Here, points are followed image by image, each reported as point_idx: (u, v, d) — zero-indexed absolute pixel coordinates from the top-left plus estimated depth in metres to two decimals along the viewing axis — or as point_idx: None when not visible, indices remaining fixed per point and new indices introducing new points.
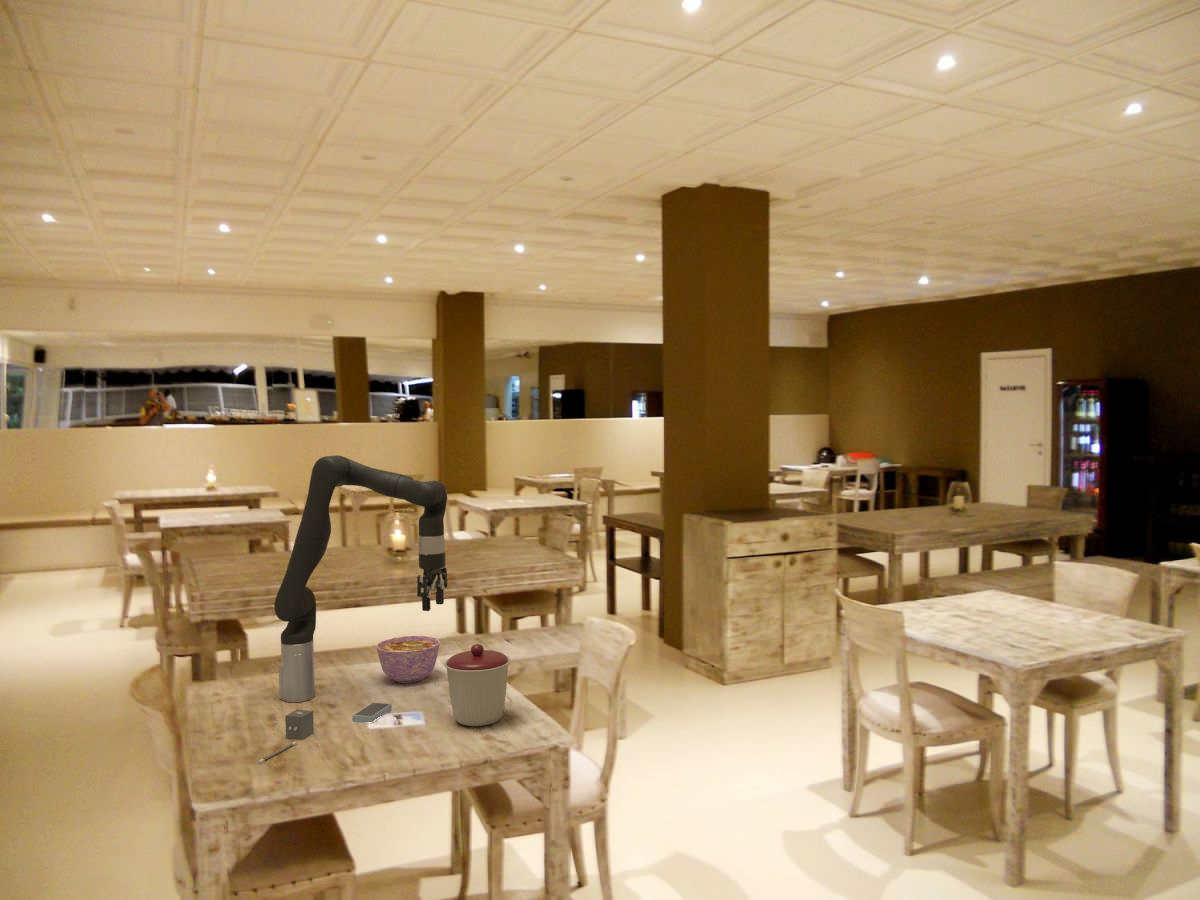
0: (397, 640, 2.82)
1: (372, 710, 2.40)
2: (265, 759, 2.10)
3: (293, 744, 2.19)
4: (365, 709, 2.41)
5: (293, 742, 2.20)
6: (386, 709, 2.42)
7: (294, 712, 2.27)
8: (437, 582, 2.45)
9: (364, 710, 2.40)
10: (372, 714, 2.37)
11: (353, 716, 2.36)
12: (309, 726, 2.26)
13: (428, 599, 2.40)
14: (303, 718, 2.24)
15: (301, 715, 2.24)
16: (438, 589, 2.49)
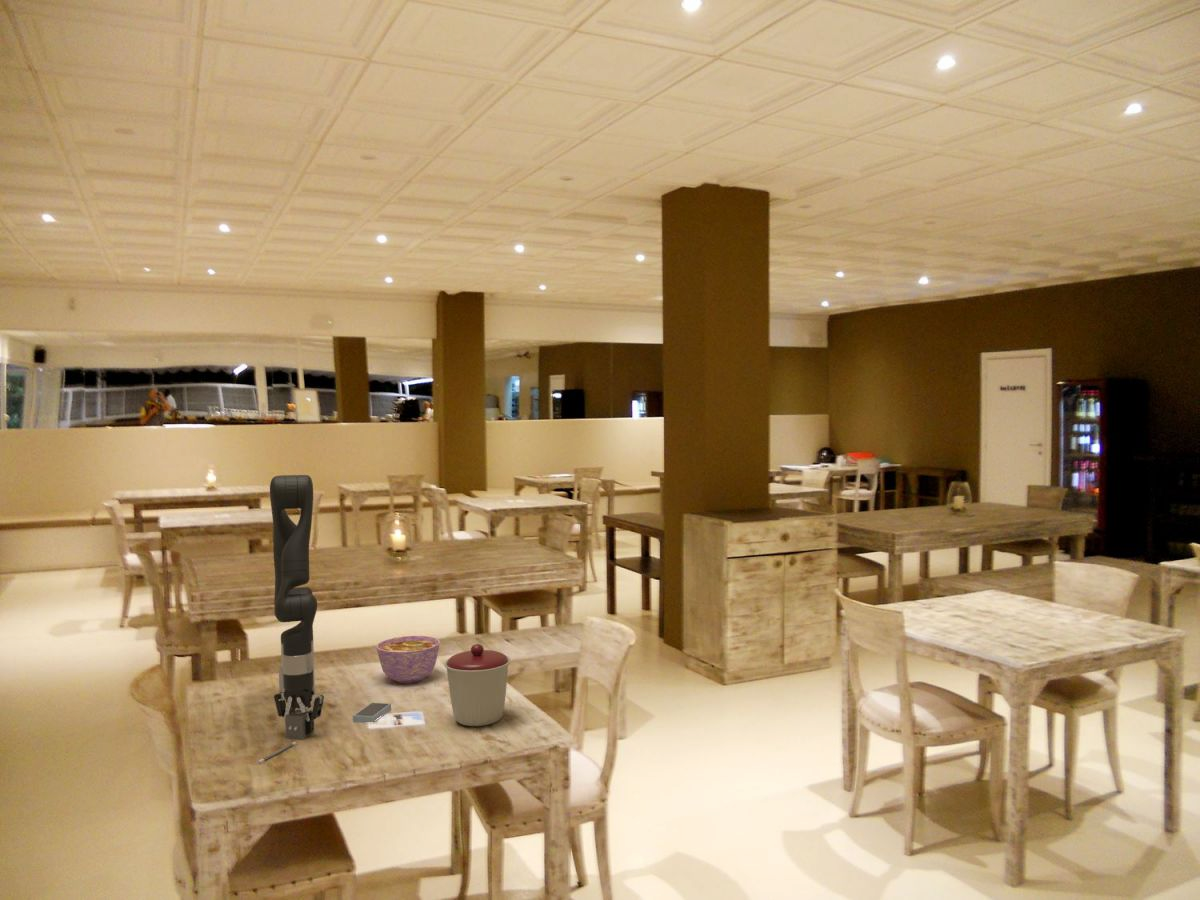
0: (397, 640, 2.82)
1: (372, 710, 2.40)
2: (265, 759, 2.10)
3: (293, 744, 2.19)
4: (365, 709, 2.41)
5: (293, 742, 2.20)
6: (386, 709, 2.43)
7: (294, 712, 2.27)
8: None
9: (364, 710, 2.40)
10: (373, 714, 2.37)
11: (354, 716, 2.36)
12: None
13: None
14: (303, 717, 2.24)
15: (301, 715, 2.24)
16: None
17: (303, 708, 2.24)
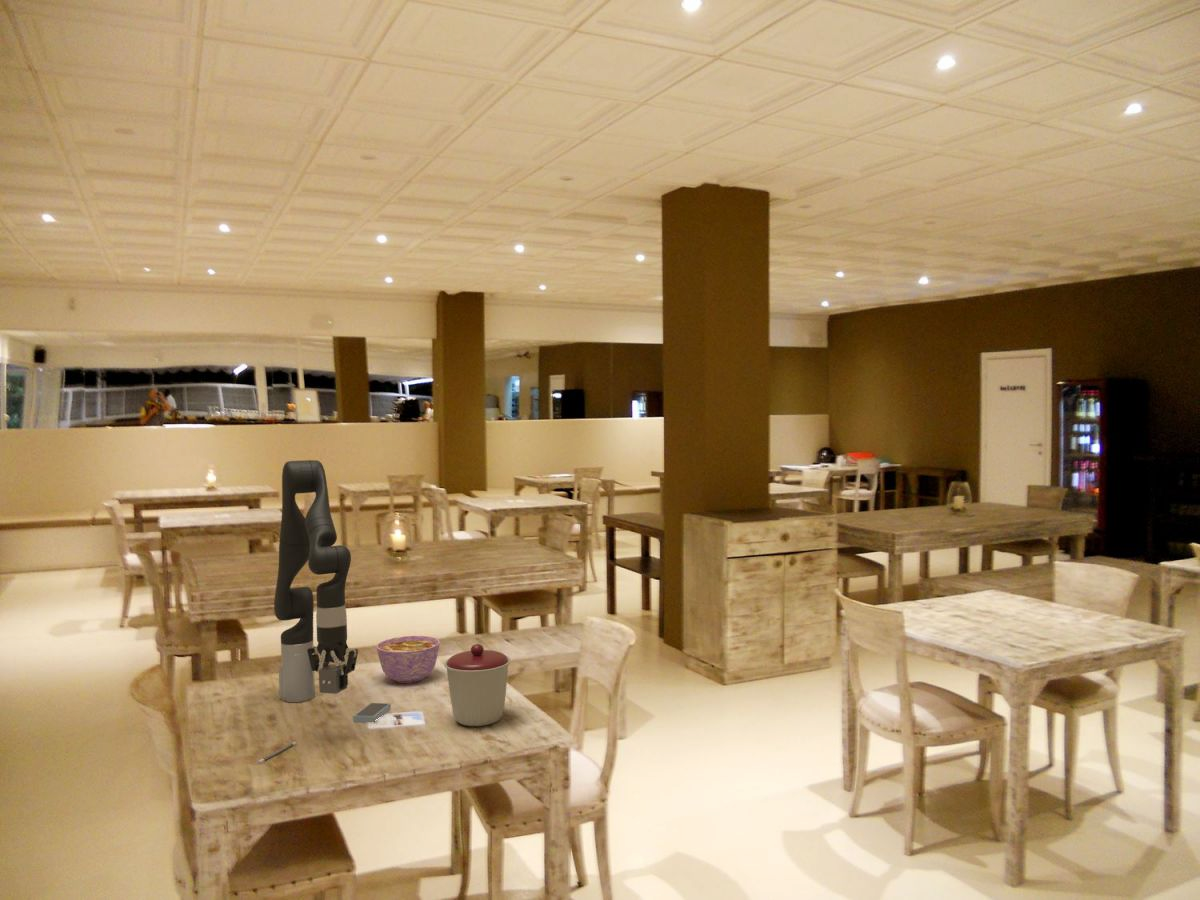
0: (397, 640, 2.82)
1: (372, 710, 2.40)
2: (265, 759, 2.10)
3: (293, 744, 2.19)
4: (365, 709, 2.41)
5: (293, 742, 2.20)
6: (385, 708, 2.43)
7: (327, 666, 2.23)
8: None
9: (364, 710, 2.40)
10: (373, 714, 2.37)
11: (354, 716, 2.36)
12: None
13: None
14: (337, 671, 2.20)
15: (335, 669, 2.21)
16: None
17: (337, 662, 2.20)
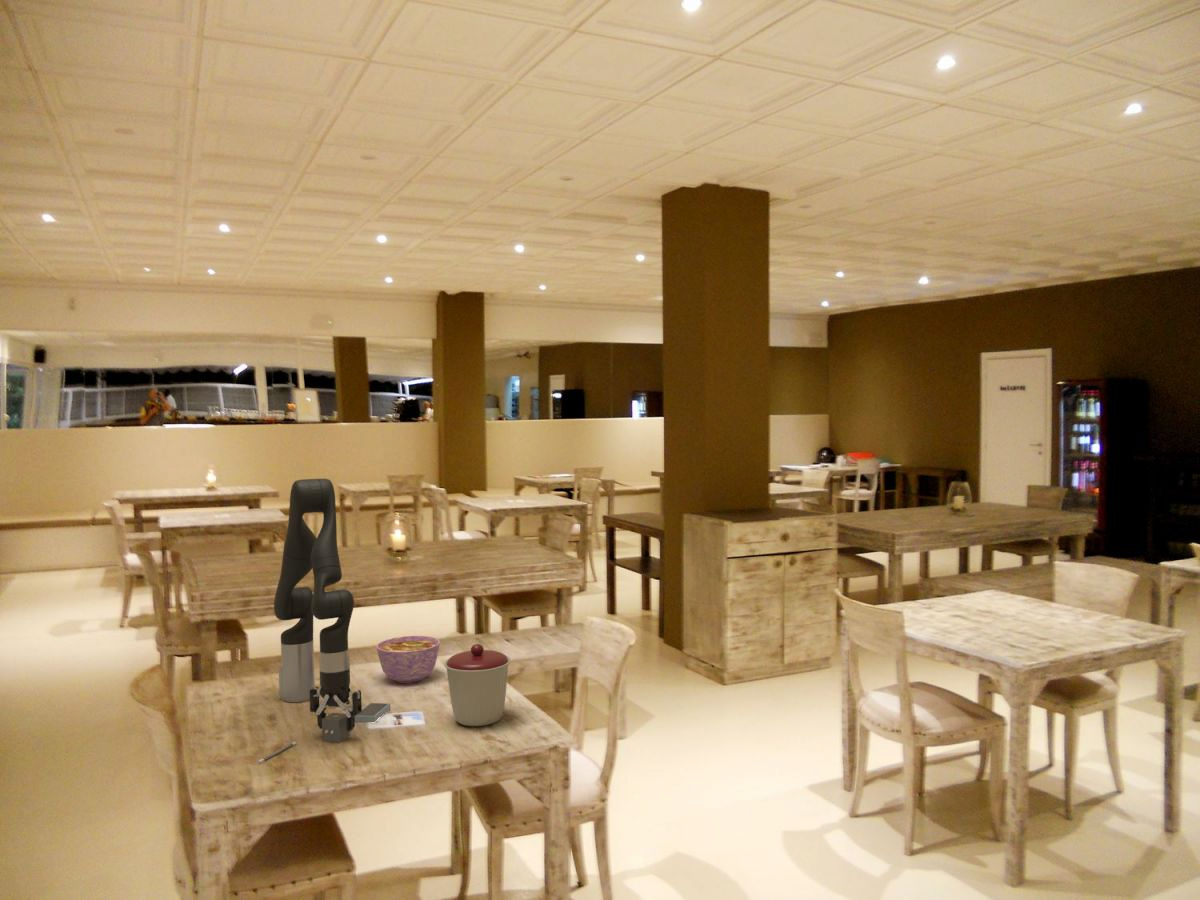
0: (397, 640, 2.82)
1: (372, 710, 2.40)
2: (265, 759, 2.10)
3: (293, 744, 2.19)
4: (365, 709, 2.41)
5: (293, 742, 2.20)
6: (385, 708, 2.43)
7: (330, 715, 2.24)
8: None
9: (364, 710, 2.40)
10: (374, 714, 2.37)
11: (355, 716, 2.36)
12: (345, 730, 2.23)
13: None
14: (340, 721, 2.21)
15: (338, 719, 2.21)
16: (322, 711, 2.24)
17: (342, 705, 2.21)
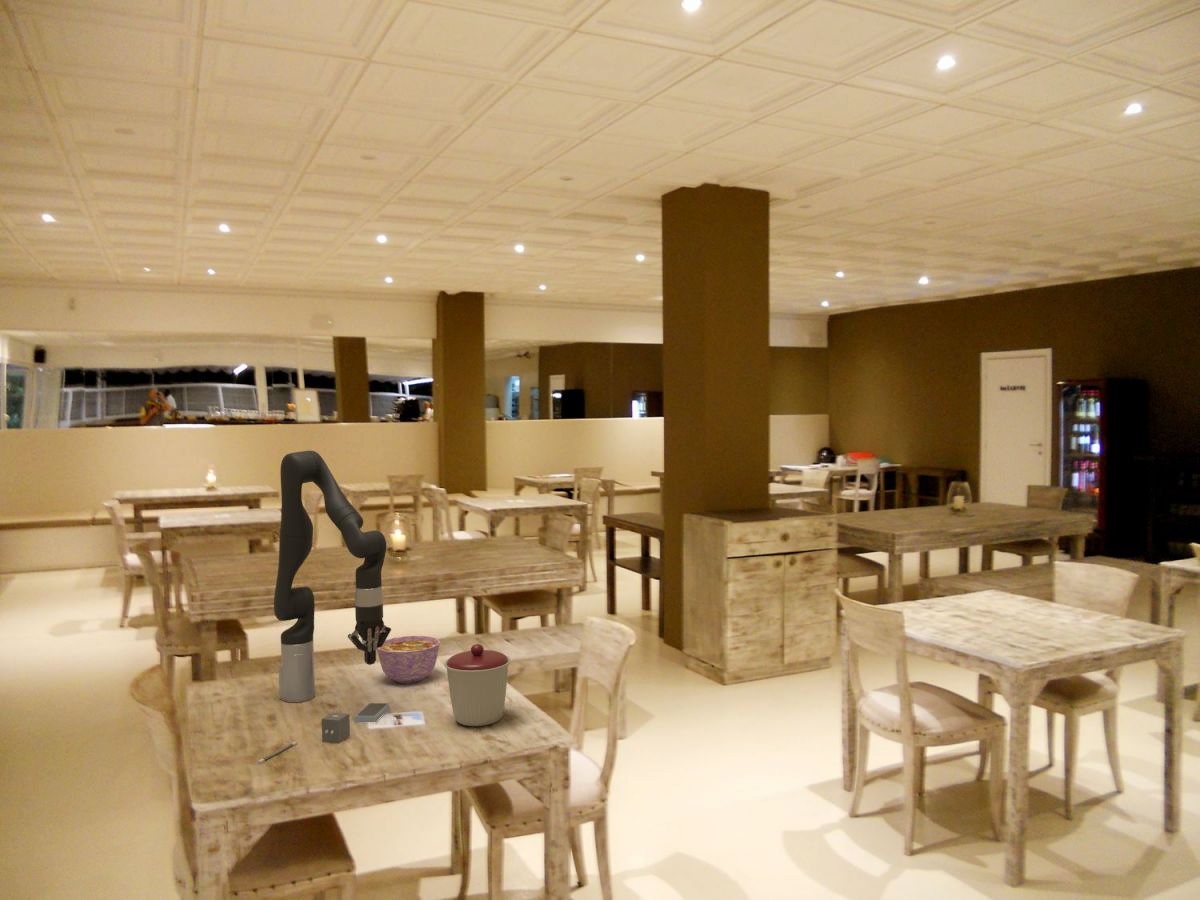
0: (397, 640, 2.82)
1: (372, 710, 2.40)
2: (265, 759, 2.10)
3: (293, 744, 2.19)
4: (365, 709, 2.41)
5: (293, 742, 2.20)
6: (385, 708, 2.43)
7: (330, 715, 2.24)
8: None
9: (364, 710, 2.40)
10: (374, 714, 2.37)
11: (355, 717, 2.36)
12: (345, 730, 2.23)
13: None
14: (340, 721, 2.21)
15: (338, 718, 2.21)
16: None
17: (377, 637, 2.40)
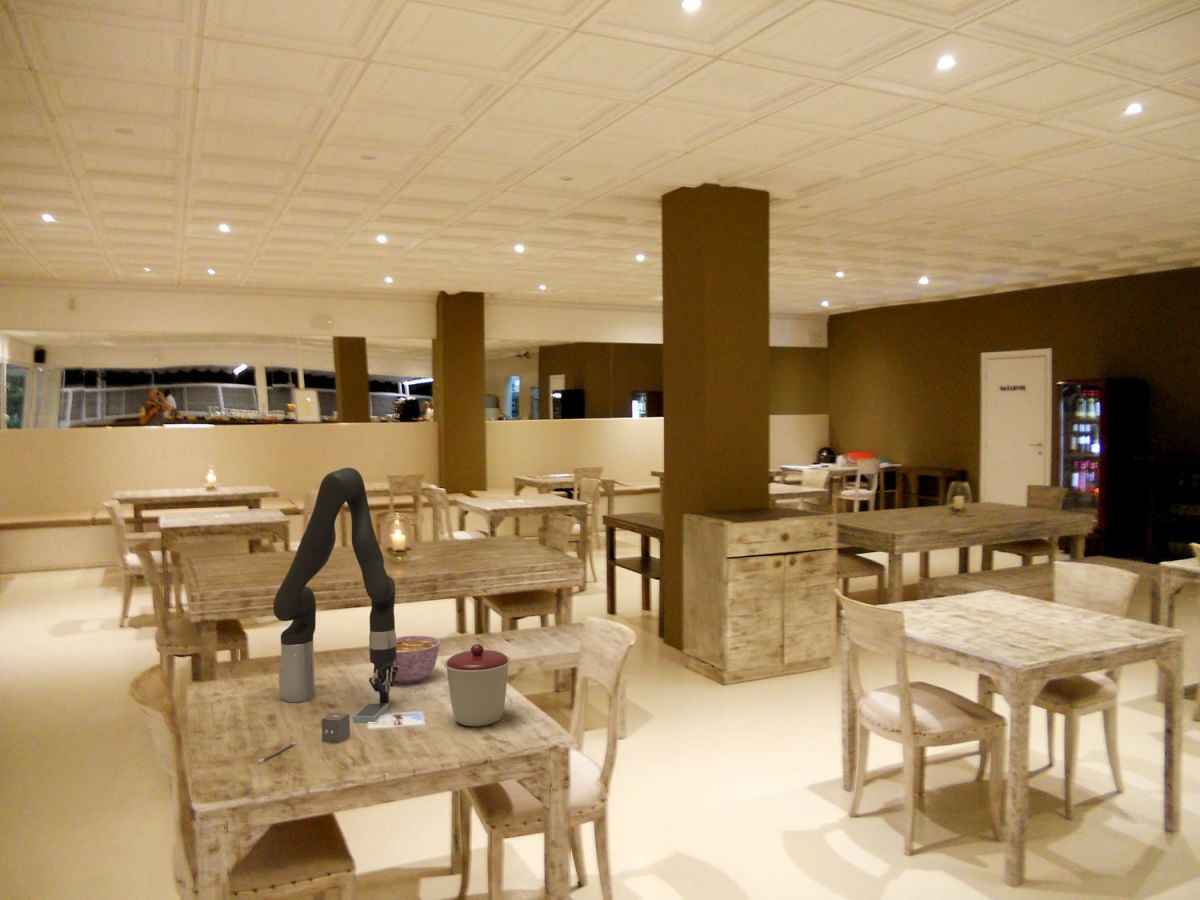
0: (397, 640, 2.82)
1: (371, 710, 2.40)
2: (265, 759, 2.10)
3: (293, 744, 2.19)
4: (364, 710, 2.40)
5: (293, 742, 2.20)
6: (384, 709, 2.43)
7: (330, 715, 2.24)
8: None
9: (363, 711, 2.39)
10: (373, 714, 2.37)
11: (354, 717, 2.35)
12: (345, 730, 2.23)
13: None
14: (340, 721, 2.21)
15: (338, 719, 2.21)
16: None
17: (391, 677, 2.48)
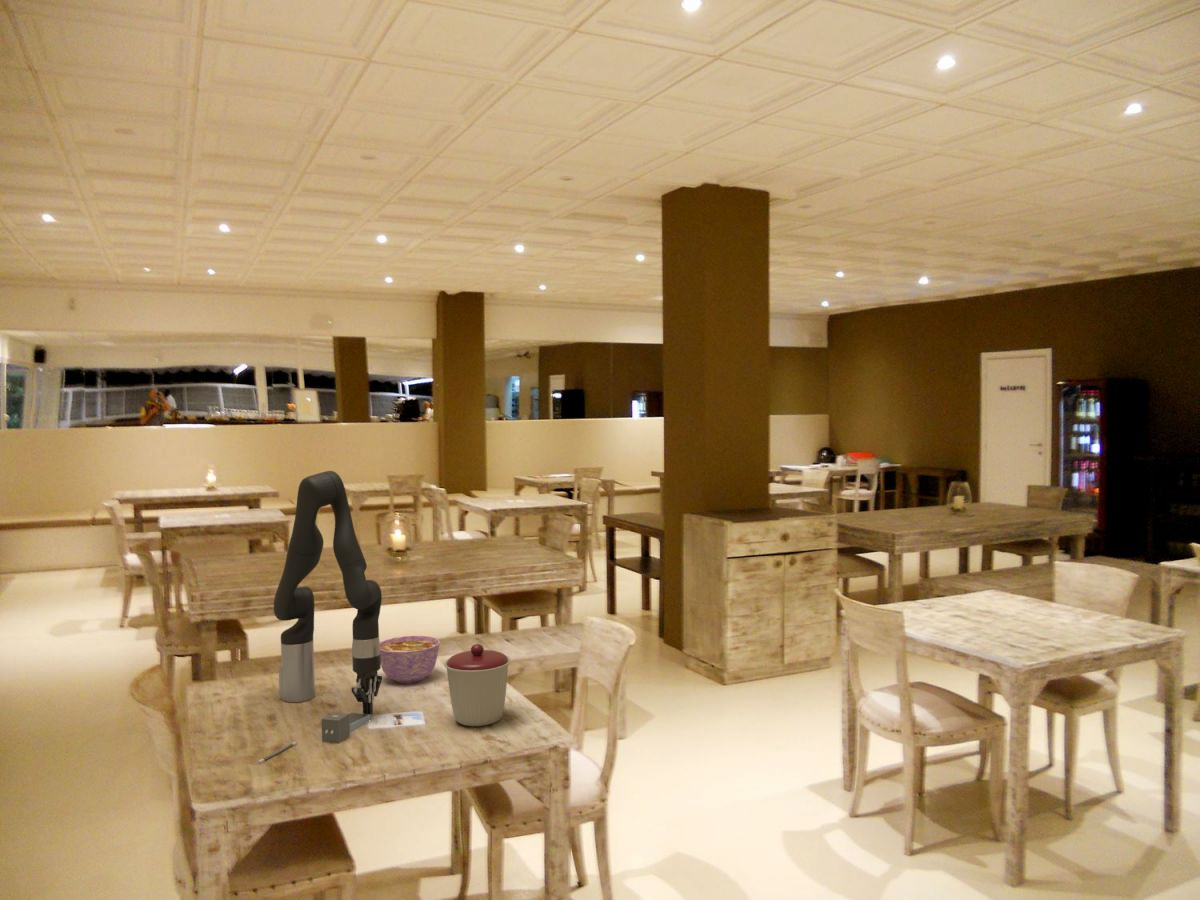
0: (397, 640, 2.82)
1: None
2: (265, 759, 2.10)
3: (293, 744, 2.19)
4: None
5: (293, 742, 2.20)
6: (362, 720, 2.34)
7: (330, 715, 2.24)
8: None
9: None
10: None
11: None
12: (345, 730, 2.23)
13: None
14: (340, 721, 2.21)
15: (337, 719, 2.21)
16: None
17: (375, 687, 2.39)
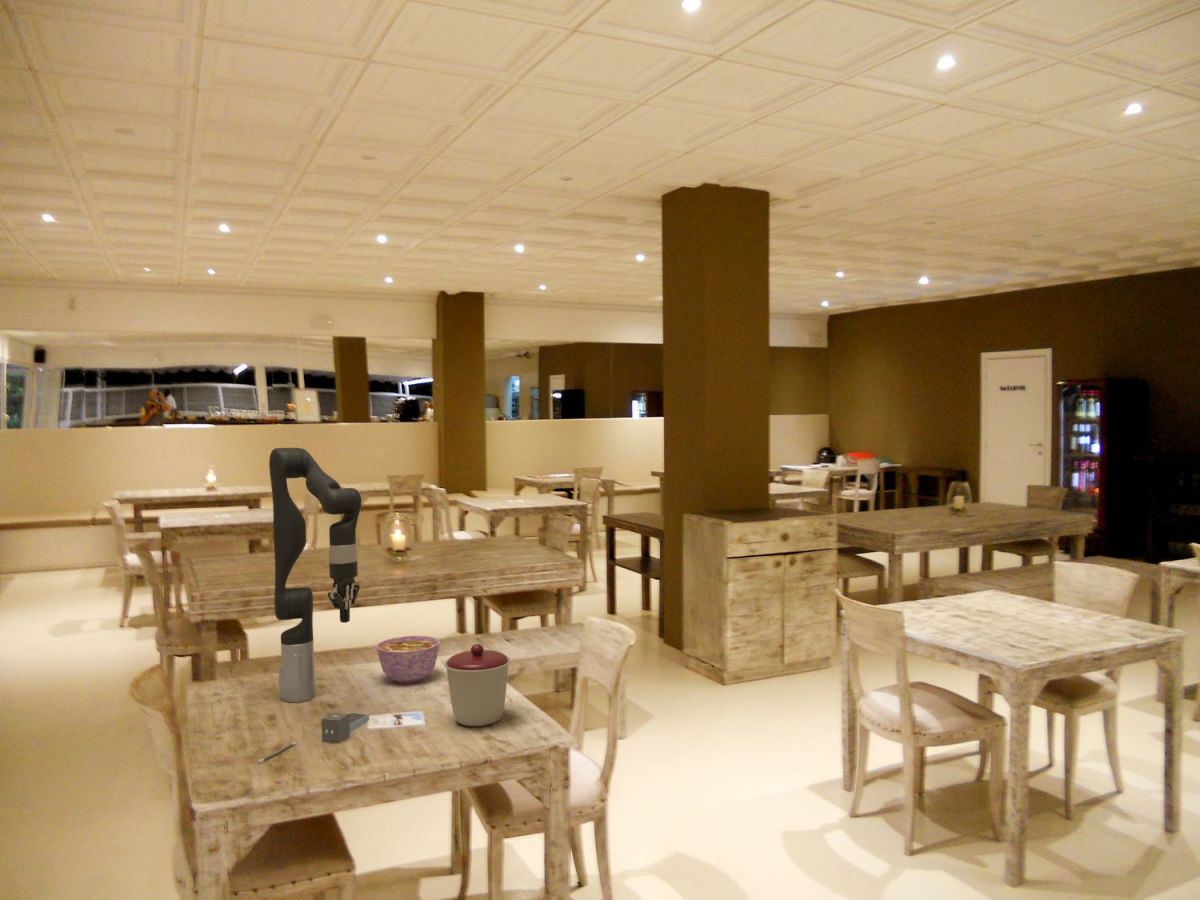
0: (397, 640, 2.82)
1: None
2: (265, 759, 2.10)
3: (293, 744, 2.19)
4: None
5: (293, 742, 2.20)
6: (362, 720, 2.34)
7: (330, 715, 2.24)
8: None
9: None
10: None
11: None
12: (345, 730, 2.23)
13: None
14: (340, 721, 2.21)
15: (338, 719, 2.21)
16: None
17: (352, 594, 2.39)
